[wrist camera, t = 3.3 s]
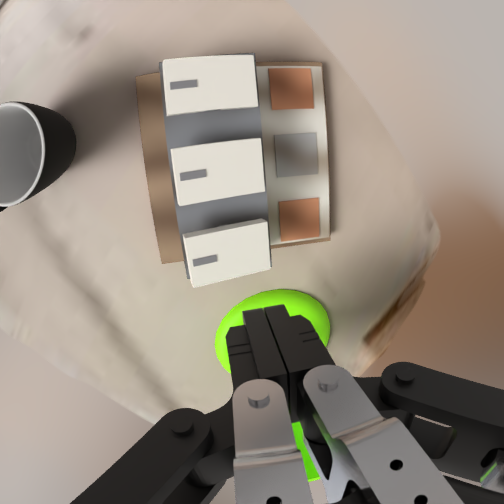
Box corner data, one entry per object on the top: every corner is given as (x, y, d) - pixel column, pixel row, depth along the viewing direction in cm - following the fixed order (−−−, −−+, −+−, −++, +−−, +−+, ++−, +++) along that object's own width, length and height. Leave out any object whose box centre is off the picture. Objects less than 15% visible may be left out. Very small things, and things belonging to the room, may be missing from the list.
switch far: (182, 233, 26) (185, 238, 24) (260, 217, 28) (267, 221, 27) (190, 280, 27) (193, 288, 26) (263, 263, 30) (270, 269, 28)
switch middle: (170, 148, 23) (172, 149, 22) (253, 138, 25) (261, 138, 24) (177, 202, 25) (180, 206, 23) (258, 188, 27) (265, 191, 26)
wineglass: (302, 266, 38) (371, 361, 22) (344, 347, 44) (400, 437, 28) (190, 328, 39) (193, 447, 22) (251, 397, 45) (275, 497, 29)
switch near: (161, 64, 20) (163, 59, 19) (246, 59, 23) (253, 54, 21) (166, 116, 22) (168, 114, 21) (251, 108, 24) (258, 106, 23)
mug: (50, 91, 26) (1, 82, 16) (102, 136, 29) (64, 140, 20) (-2, 176, 28) (-53, 195, 18) (45, 221, 31) (1, 253, 21)
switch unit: (138, 78, 27) (124, 67, 21) (317, 65, 29) (341, 53, 24) (163, 258, 35) (157, 285, 29) (325, 236, 37) (348, 256, 31)
